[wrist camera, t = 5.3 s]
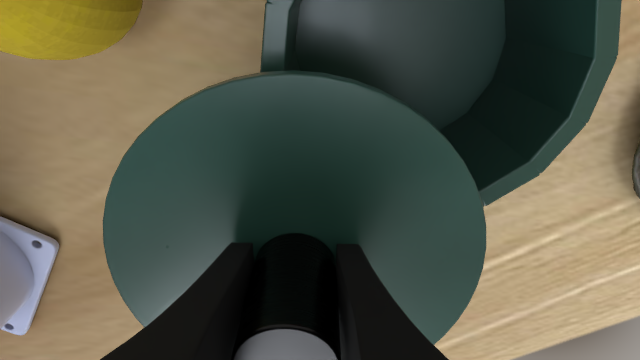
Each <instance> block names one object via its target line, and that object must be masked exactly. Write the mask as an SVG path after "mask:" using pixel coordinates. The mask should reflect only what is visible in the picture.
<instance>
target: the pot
mask: <svg viewBox="0 0 640 360" xmlns="http://www.w3.org/2000/svg"><path fill="white" fill-rule="evenodd" d="M620 14H621V0H267V3H266V4H265V16H264V30H263V43H262V56H261V70H260V73H261V72H271V71H290V70H296V71H308V72H320V73H327V74H331V75H336V76H341V77H345V78H350V79H353V80H356V81H359V82H362V83H364V84H367V85H370V86H373V87H375V88H378V89H380V90H382V91H384V92H386V93H388V94H390V95H392V96H394V97H396V98H397V99H399V100H401V101H403V102H405V103H406V104H408V105H409V106H410V107H412V108H413V109H414V110H416V111H417V112H419V113H420V114H421V115H423V116H424V117H425V118H427V119H428V120H429V121H430V122H431V123H432V124H433V125H434V126H435V127H436V128H437V129H438V130H439V131H440V132H441V133H442V134H443V135H444V136H445V137H446V138H447V139H448V141H449V142H450V143H451V145H452V146H453V147H454V149H455V150H456V151H457V153H458V154H459V155H460V156H461V158H462V159H463V160H464V162H465V164H466V166H467V168H468V170H469V172H470V173H471V175H472V177H473V179H474V181H475V183H476V186H477V189H478V192H479V195H480V198H481V201H482V204H483V207H484V205H485V206H487V205H489V204H490V203H492V202H494V201H495V200H497V199H499V198H501V197H502V196H504V195H506V194H508V193H509V192H511V191H513V190H514V189H516V188H518V187H520V186H521V185H523V184H525V183H527V182H528V181H530V180H532V179H533V178H535V177H537V176H539V175H540V174H539V173H542V172H543V171H544V170H545V169H546V168H547V167H548V166H549V165H550V163H551V162H552V161H553V160H554V159H555V158H556V157H557V156H558V155H559V154H560V152H561V151H562V150H563V149H564V148H565V147H566V146H567V145H568V144H569V143H570V142H571V140H572V139H573V138H574V137H575V136H576V135H577V134H578V133H579V132H580V131H581V130H582V128H583V127H584V126H585V125H586V123H587V122H588V121H589V119H590V117H591V114H592V112H593V110H594V108H595V106H596V103H597V101H598V99H599V97H600V94H601V92H602V90H603V88H604V86H605V83H606V81H607V79H608V77H609V75H610V72H611V70H612V68H613V66H614V63H615V61H616V59H617V57H616V56H617V55H618V44H619V29H620Z"/></svg>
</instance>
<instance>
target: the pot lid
mask: <svg viewBox="0 0 640 360" xmlns="http://www.w3.org/2000/svg"><path fill="white" fill-rule="evenodd" d="M103 241H104V248H105V253H106V258H107V263H108V266H109V269H110V272H111V275H112V278H113V280H114V283H115V285H116V287H117V289H118V291H119V293H120V295H121V296H122V298H123V300H124V302H125V303H126V305H127V306H128V308H129V309H130V310H131V312H132V313H133V315H134V316H135V318H136V319H137V320H138V321H139V322H140V323H141V324H142V325H143V326H144V327H146V326H147V325H148V324H150V323H151V322H152V321H153V320H154V319H156V318H157V317H158V316H159V315H160V314H161V313H163V312H164V311H165V310H166V309H167V308H168V307H169V306H170V305H171V304H172V303H173V302H174V301H176V300H177V299H178V298H179V297H180V296H181V295H182V294H183V293H184V292H185V291H186V290H187V289H188V288H189V287H190V286H191V285H192V284H193V283H194V282H195V281H196V280H197V279H198V278H199V277H200V276H201V275H202V274H203V273H204V272H205V271H206V269H207V268H208V267H209V266H210V265H211V264H212V263H213V262H214V261H215V260H216V258H217V257H218V256H219V255H220V254H221V253H222V252H223V251H224V249H225V248H226V247H227V246H228V245H229V244H230V243H231V242H234V243H253V254H254V267H253V271H252V275H251V279H250V283H249V287H248V291H247V295H246V299H245V303H244V307H243V311H242V315H241V319H240V323H239V327H238V332H237V336H236V340H235V344H234V348H233V352H232V357H231V360H341V347H340V329H339V311H338V295H337V279H336V251H337V244H359V245H360V246H361V248H362V250H363V252H364V254H365V255H366V257H367V259H368V261H369V263H370V264H371V266H372V268H373V269H374V271H375V273H376V274H377V276H378V277H379V279H380V280H381V282H382V283H383V285H384V286H385V287H386V289H387V290H388V292H389V293H390V295H391V296H392V297H393V299H394V300H395V301H396V303H397V304H398V305H399V306H400V308H401V309H402V310H403V311H404V313H405V314H406V315H407V316H408V318H409V319H410V320H411V321H412V322H413V323H414V325H415V326H416V327H417V328H418V329H419V330H420V331H421V332H422V333H423V334H424V336H425V337H426V338H427V339H428V340H429V341H430V342H431V343H432V344H433V345H434V344H435V343H436V342H437V341H439V340H440V339H441V338H442V337H443V336H444V335H445V334H446V333H447V332H448V331H449V329H450V328H451V327H452V326H453V325H454V324H455V323H456V322H457V320H458V319H459V317H460V316H461V314H462V313H463V311H464V310H465V308H466V307H467V305H468V304H469V302H470V300H471V298H472V296H473V294H474V291H475V289H476V287H477V285H478V281H479V278H480V275H481V272H482V269H483V264H484V258H485V251H486V222H485V216H484V210H483V204H482V201H481V198H480V195H479V192H478V189H477V186H476V183H475V181H474V179H473V177H472V175H471V173H470V172H469V170H468V168H467V166H466V164H465V162H464V160H463V159H462V158H461V156H460V155H459V154H458V153H457V151H456V150H455V149H454V147H453V146H452V145H451V143H450V142H449V141H448V139H447V138H446V137H445V136H444V135H443V134H442V133H441V132H440V131H439V130H438V129H437V128H436V127H435V126H434V125H433V124H432V123H431V122H430V121H429V120H428V119H427V118H425V117H424V116H423V115H421V114H420V113H419V112H417V111H416V110H414V109H413V108H412V107H410V106H409V105H408V104H406V103H405V102H403V101H401V100H399V99H397V98H396V97H394V96H392V95H390V94H388V93H386V92H384V91H382V90H380V89H378V88H375V87H373V86H370V85H367V84H364V83H362V82H359V81H356V80H353V79H350V78H345V77H341V76H336V75H331V74H327V73H320V72H308V71H296V70H290V71H271V72H261V73H255V74H250V75H245V76H240V77H235V78H232V79H229V80H226V81H223V82H220V83H217V84H214V85H211V86H208V87H206V88H204V89H202V90H200V91H198V92H196V93H194V94H192V95H190V96H188V97H186V98H185V99H183V100H181V101H180V102H179V103H177V104H176V105H174V106H173V107H172V108H170V109H169V110H167V111H166V112H165V113H163V114H162V115H160V116H159V117H158V118H157V119H156V120H154V121H153V122H152V123H151V124H150V125H149V126H148V127H147V128H146V129H145V130H144V131H143V132H142V133H141V134H140V135H139V136H138V137H137V139H136V140H135V141H134V143H133V144H132V145H131V147H130V148H129V149H128V151H127V152H126V154H125V155H124V156H123V158H122V160H121V162H120V164H119V166H118V168H117V170H116V172H115V174H114V176H113V178H112V181H111V184H110V188H109V191H108V194H107V197H106V202H105V210H104V217H103Z"/></svg>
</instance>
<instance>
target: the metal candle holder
mask: <svg viewBox="0 0 640 360" xmlns="http://www.w3.org/2000/svg"><path fill="white" fill-rule="evenodd" d="M632 179H633V183H634V190H635V192H636V194H637V196H638V197H639V198H640V141H639V144H638V147H637V149H636V152H635V154H634V160H633V168H632Z"/></svg>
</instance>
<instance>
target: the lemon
mask: <svg viewBox="0 0 640 360" xmlns="http://www.w3.org/2000/svg"><path fill="white" fill-rule="evenodd" d="M142 2H143V0H0V51H2V52H6V53H10V54H14V55H17V56H22V57H26V58H32V59H47V60H70V59H77V58H80V57H84V56H88V55H92V54H96V53H99V52H101V51H103V50H105V49H107V48H108V47H110V46H111V45H113V44H115V43H116V42H118V41H119V40H121V39H122V38H123V37H124V36H125V34H126V33H127V32H128V31H129V30H130V28H131V27H132V26H133V25H134V23H135V22H136V19H137V17H138V15H139V12H140V10H141V8H142Z"/></svg>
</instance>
